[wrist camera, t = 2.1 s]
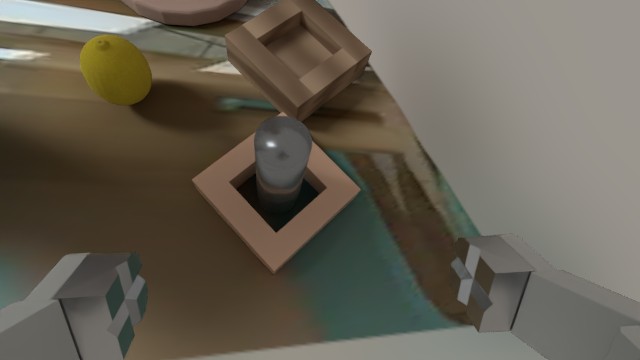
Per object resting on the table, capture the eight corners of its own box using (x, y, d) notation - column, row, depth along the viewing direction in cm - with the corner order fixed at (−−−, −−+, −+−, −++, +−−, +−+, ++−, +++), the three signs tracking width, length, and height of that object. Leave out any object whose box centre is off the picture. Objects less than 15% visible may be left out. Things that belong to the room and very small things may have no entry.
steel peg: (276, 222, 35) (281, 179, 24) (249, 193, 35) (241, 138, 24) (306, 196, 36) (324, 144, 25) (279, 168, 37) (285, 105, 26)
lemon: (166, 78, 38) (142, 21, 31) (154, 122, 36) (125, 74, 29) (112, 70, 38) (74, 11, 30) (96, 115, 36) (53, 64, 28)
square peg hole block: (294, 127, 39) (297, 107, 35) (228, 60, 40) (224, 35, 37) (362, 74, 42) (371, 51, 39) (299, 15, 44) (302, -12, 40)
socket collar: (273, 274, 33) (274, 271, 30) (197, 190, 35) (191, 179, 32) (353, 198, 37) (361, 189, 34) (281, 126, 38) (282, 111, 36)
